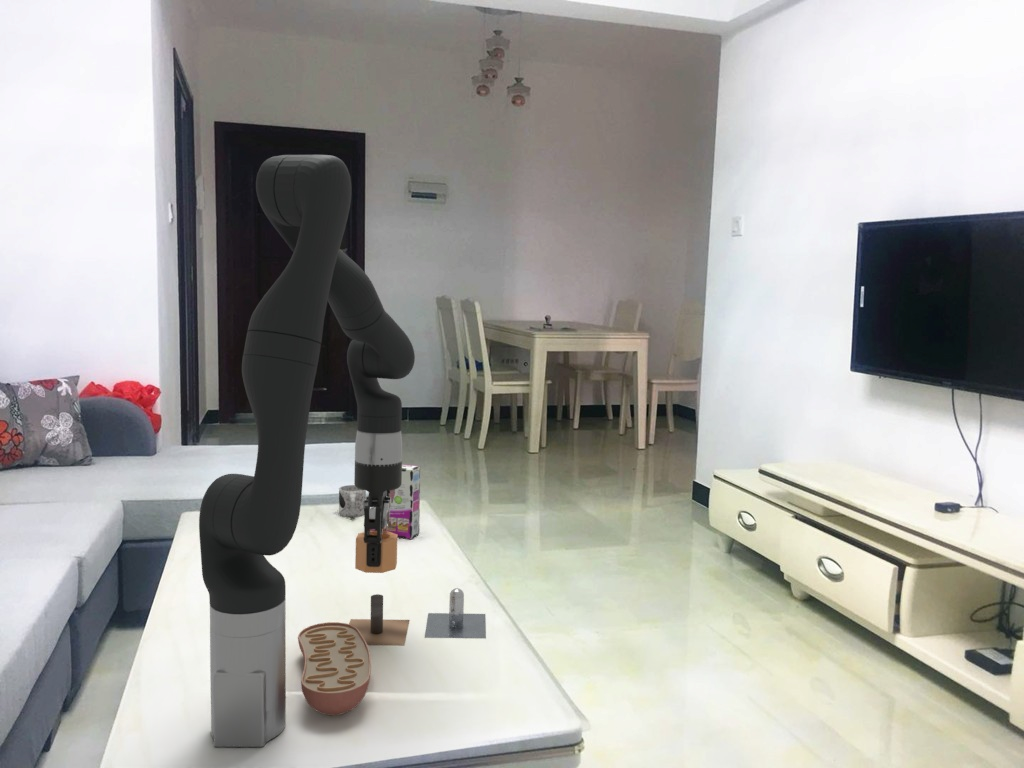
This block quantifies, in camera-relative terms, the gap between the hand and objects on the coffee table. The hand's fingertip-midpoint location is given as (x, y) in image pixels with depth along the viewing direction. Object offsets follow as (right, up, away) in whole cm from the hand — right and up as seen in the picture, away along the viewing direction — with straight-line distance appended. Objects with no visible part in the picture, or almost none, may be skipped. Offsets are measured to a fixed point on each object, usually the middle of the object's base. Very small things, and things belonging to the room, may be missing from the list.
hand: (376, 558), depth 132 cm
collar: (0, -1, 0) cm, 1 cm away
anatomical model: (-4, -16, -15) cm, 22 cm away
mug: (-18, -5, +72) cm, 75 cm away
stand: (0, -13, +2) cm, 13 cm away
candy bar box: (-6, -7, +58) cm, 59 cm away
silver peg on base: (+13, -13, +5) cm, 19 cm away
